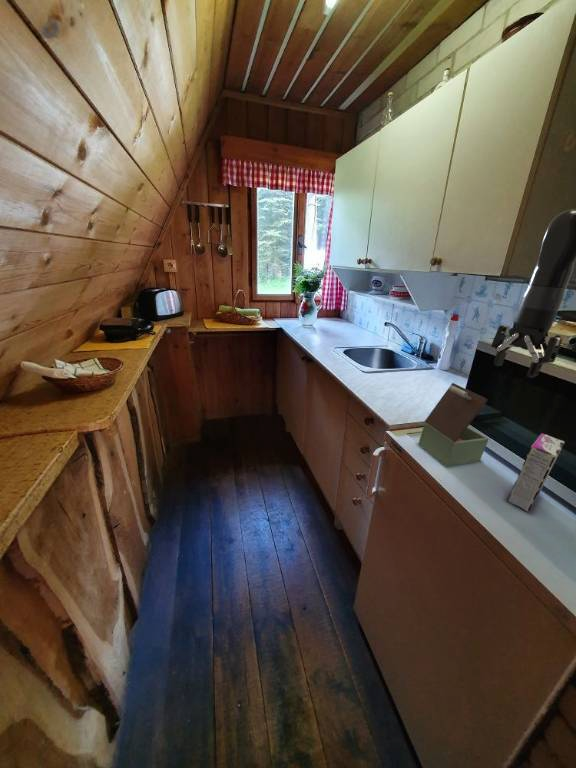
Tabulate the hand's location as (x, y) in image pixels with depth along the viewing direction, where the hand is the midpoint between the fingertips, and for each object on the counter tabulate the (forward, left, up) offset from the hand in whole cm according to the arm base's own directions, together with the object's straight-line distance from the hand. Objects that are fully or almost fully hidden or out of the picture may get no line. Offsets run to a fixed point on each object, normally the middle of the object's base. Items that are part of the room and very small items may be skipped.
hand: (513, 371), depth 78 cm
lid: (+5, -8, -15) cm, 18 cm away
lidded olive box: (+2, -8, -30) cm, 31 cm away
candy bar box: (-1, +13, -30) cm, 33 cm away
